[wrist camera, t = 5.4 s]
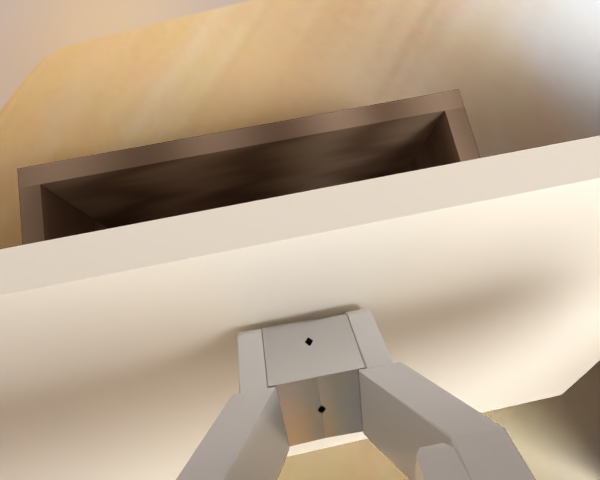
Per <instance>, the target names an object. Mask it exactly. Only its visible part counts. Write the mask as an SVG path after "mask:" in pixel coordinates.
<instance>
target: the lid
mask: <svg viewBox="0 0 600 480" xmlns="http://www.w3.org/2000/svg"><path fill="white" fill-rule="evenodd" d="M365 308H369V309H370V310H371V312H372V314H373V317H374V319H375V321H376V323H377V326H378V328H379V330H380V333H381V335H382V337H383V340H384V342H385V344H386V347H387V349H388V351H389V353H390V356H391V358H392V360H393V363H396V362H402V363H403V364H405V365H407V366H408V367H410V368H411V369H413V370H414V371H416V372H418V373H419V374H421V375H422V376H424V377H425V378H427V379H428V380H430V381H432V382H433V383H435V384H436V385H438V386H439V387H441V388H442V389H444V390H446V391H447V392H449V393H450V394H452V395H453V396H455V397H456V398H458V399H460V400H461V401H463V402H464V403H466V404H467V405H469V406H471V407H472V408H474V409H475V410H477V411H478V412H480V413H483V412H488V411H492V410H496V409H501V408H505V407H510V406H514V405H519V404H523V403H527V402H532V401H536V400H541V399H545V398H550V397H554V396H558V395H562V394H563V393H564V392H565V391H566V390H567V389H568V388H570V387H571V386H572V385H573V384H574V383H575V382H576V381H577V380H578V379H580V378H581V377H582V376H583V375H584V374H585V373H586V372H587V371H588V370H590V369H591V368H592V367H593V366H594V365H595V364H596V363H597V362H599V361H600V136H594V137H589V138H584V139H578V140H573V141H568V142H563V143H557V144H552V145H547V146H542V147H536V148H531V149H526V150H521V151H515V152H510V153H505V154H499V155H494V156H489V157H484V158H478V159H473V160H468V161H463V162H457V163H452V164H447V165H442V166H436V167H431V168H426V169H420V170H415V171H410V172H405V173H399V174H394V175H389V176H384V177H378V178H373V179H368V180H363V181H357V182H352V183H347V184H341V185H336V186H331V187H326V188H320V189H315V190H310V191H305V192H299V193H294V194H289V195H284V196H278V197H273V198H268V199H262V200H257V201H252V202H247V203H241V204H236V205H231V206H226V207H220V208H215V209H210V210H205V211H199V212H194V213H189V214H183V215H178V216H173V217H168V218H162V219H157V220H152V221H147V222H141V223H136V224H131V225H126V226H120V227H115V228H110V229H104V230H99V231H94V232H89V233H83V234H78V235H73V236H68V237H62V238H57V239H52V240H47V241H41V242H36V243H31V244H25V245H20V246H15V247H10V248H4V249H0V480H176V479H177V477H178V476H179V474H180V473H181V471H182V470H183V468H184V466H185V465H186V463H187V462H188V460H189V459H190V457H191V456H192V454H193V453H194V451H195V450H196V448H197V447H198V445H199V444H200V442H201V441H202V439H203V438H204V436H205V435H206V433H207V432H208V430H209V429H210V427H211V426H212V424H213V423H214V421H215V420H216V418H217V417H218V415H219V414H220V412H221V411H222V409H223V408H224V406H225V405H226V403H227V402H228V400H229V399H230V397H231V396H232V395H235V394H239V372H238V344H237V337H238V333H239V332H244V331H250V330H257V329H262V328H266V327H272V326H278V325H284V324H290V323H296V322H302V321H307V320H312V319H317V318H322V317H327V316H332V315H337V314H342V313H346V312H350V311H355V310H360V309H365ZM364 439H368V438H367V437H366V436H365V435H364V434H363V431H362V432H357V433H351V434H346V435H340V436H334V437H329V438H324V439H319V440H315V441H311V442H307V443H303V444H298V445H294V446H290V447H289V452H288V454H287V457H288V456H293V455H297V454H302V453H306V452H310V451H315V450H319V449H324V448H328V447H333V446H337V445H341V444H346V443H350V442H355V441H359V440H364Z"/></svg>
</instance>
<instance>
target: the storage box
mask: <svg viewBox="0 0 600 480" xmlns="http://www.w3.org/2000/svg"><path fill="white" fill-rule="evenodd" d="M478 158H480V155H479V152H478V149H477V146H476V143H475V140H474V137H473V133H472V130H471V127H470V124H469V121H468V118H467V115H466V111H465V108H464V105H463V102H462V99H461V96H460V93H459V89H458V90H453V91H447V92H442V93H436V94H430V95H425V96H419V97H414V98H408V99H403V100H397V101H391V102H386V103H380V104H375V105H369V106H364V107H358V108H352V109H347V110H341V111H336V112H330V113H325V114H319V115H313V116H308V117H302V118H297V119H291V120H286V121H280V122H275V123H269V124H263V125H258V126H252V127H247V128H241V129H236V130H230V131H224V132H219V133H213V134H208V135H202V136H197V137H191V138H185V139H180V140H174V141H169V142H163V143H158V144H152V145H147V146H141V147H135V148H130V149H124V150H119V151H113V152H108V153H102V154H96V155H91V156H85V157H80V158H74V159H69V160H63V161H57V162H52V163H46V164H41V165H35V166H30V167H24V168H18V169H17V170H18V185H19V200H20V215H21V230H22V244H23V245H25V244H31V243H36V242H41V241H47V240H52V239H57V238H62V237H68V236H73V235H78V234H83V233H89V232H94V231H99V230H104V229H110V228H115V227H120V226H126V225H131V224H136V223H141V222H147V221H152V220H157V219H162V218H168V217H173V216H178V215H183V214H189V213H194V212H199V211H205V210H210V209H215V208H220V207H226V206H231V205H236V204H241V203H247V202H252V201H257V200H262V199H268V198H273V197H278V196H284V195H289V194H294V193H299V192H305V191H310V190H315V189H320V188H326V187H331V186H336V185H341V184H347V183H352V182H357V181H363V180H368V179H373V178H378V177H384V176H389V175H394V174H399V173H405V172H410V171H415V170H420V169H426V168H431V167H436V166H442V165H447V164H452V163H457V162H463V161H468V160H473V159H478Z"/></svg>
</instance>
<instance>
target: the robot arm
mask: <svg viewBox="0 0 600 480" xmlns="http://www.w3.org/2000/svg"><path fill="white" fill-rule="evenodd" d="M237 344H238V372H239V394H235V395H232V396H231V397H230V399H229V400H228V402H227V403H226V405H225V406H224V408H223V409H222V411H221V412H220V414H219V415H218V417H217V418H216V420H215V421H214V423H213V424H212V426H211V427H210V429H209V430H208V432H207V433H206V435H205V436H204V438H203V439H202V441H201V442H200V444H199V445H198V447H197V448H196V450H195V451H194V453H193V454H192V456H191V457H190V459H189V460H188V462H187V463H186V465H185V466H184V468H183V470H182V471H181V473H180V474H179V476H178V477H177V479H176V480H277V479H278V477H279V474H280V472H281V469H282V467H283V464H284V462H285V459H286V457H287V454H288V452H289V447H290V446H294V445H298V444H303V443H307V442H311V441H315V440H319V439H324V438H329V437H334V436H340V435H346V434H351V433H357V432H362V431H363V434H364V435H365V436H366V437H367V438H368V439H369V440H370V441H371V442H372V443H373V444H374V445H375V446H376V447H377V448H378V449H379V450H381V451H382V452H383V453H384V454H385V455H386V456H387V457H388V458H389V459H390V460H391V461H392V462H393V463H394V464H395V465H396V466H397V467H398V468H399V469H400V470H401V471H402V472H403V473H404V474H405V475H406V476H407V477H408V478H409V479H410V480H536V479H535V478H534V476H533V474H532V473H531V471H530V470H529V468H528V466H527V465H526V463H525V461H524V460H523V458H522V456H521V455H520V453H519V451H518V450H517V448H516V446H515V445H514V443H513V442H512V440H511V438H510V437H509V435H508V433H507V432H506V430H505V428H503V427H502V426H500V425H499V424H497V423H495V422H494V421H492V420H491V419H489V418H488V417H486V416H485V415H483V414H481V413H480V412H478V411H477V410H475V409H474V408H472V407H471V406H469V405H467V404H466V403H464V402H463V401H461V400H460V399H458V398H456V397H455V396H453V395H452V394H450V393H449V392H447V391H446V390H444V389H442V388H441V387H439V386H438V385H436V384H435V383H433V382H432V381H430V380H428V379H427V378H425V377H424V376H422V375H421V374H419V373H418V372H416V371H414V370H413V369H411V368H410V367H408V366H407V365H405V364H403V363H402V362H396V363H393V360H392V358H391V356H390V353H389V351H388V349H387V347H386V344H385V342H384V340H383V337H382V335H381V333H380V330H379V328H378V326H377V323H376V321H375V319H374V317H373V314H372V312H371V310H370V309H369V308H365V309H360V310H355V311H350V312H346V313H342V314H337V315H332V316H327V317H322V318H317V319H312V320H307V321H302V322H296V323H290V324H284V325H278V326H272V327H266V328H262V329H257V330H250V331H244V332H239V333H238V337H237Z"/></svg>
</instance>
